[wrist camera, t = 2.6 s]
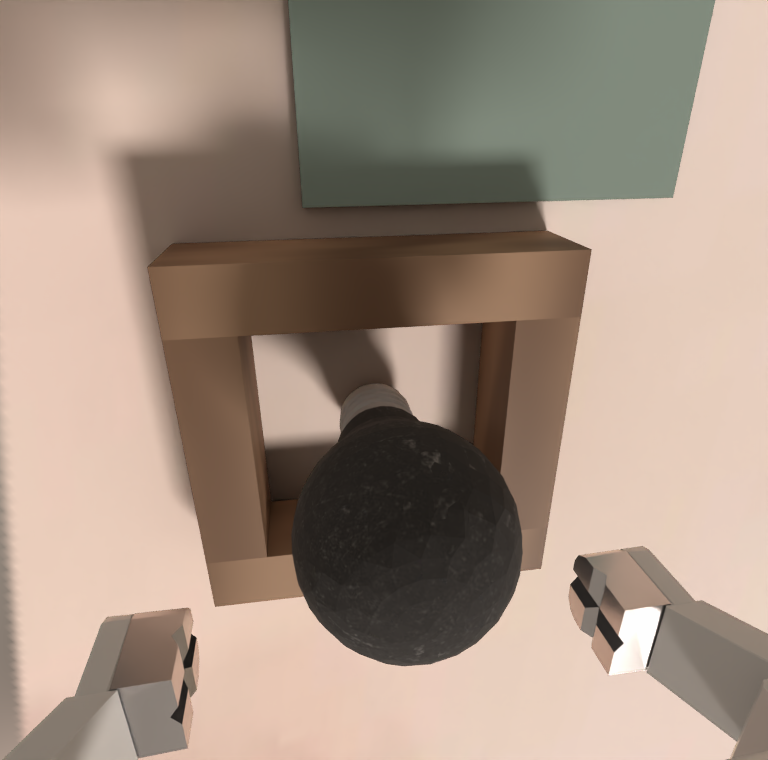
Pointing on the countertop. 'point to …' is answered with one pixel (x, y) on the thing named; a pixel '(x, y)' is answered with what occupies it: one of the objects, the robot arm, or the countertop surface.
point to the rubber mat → (493, 98)
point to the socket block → (354, 312)
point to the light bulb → (405, 535)
